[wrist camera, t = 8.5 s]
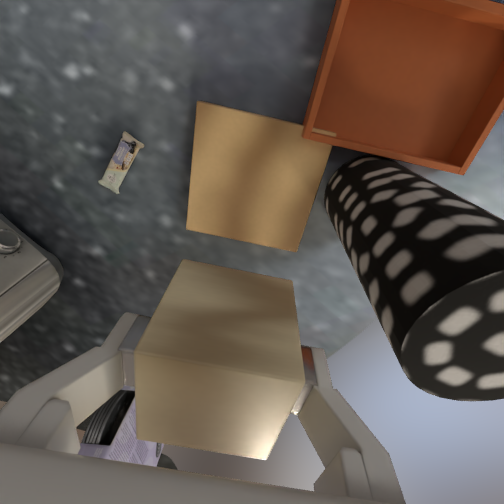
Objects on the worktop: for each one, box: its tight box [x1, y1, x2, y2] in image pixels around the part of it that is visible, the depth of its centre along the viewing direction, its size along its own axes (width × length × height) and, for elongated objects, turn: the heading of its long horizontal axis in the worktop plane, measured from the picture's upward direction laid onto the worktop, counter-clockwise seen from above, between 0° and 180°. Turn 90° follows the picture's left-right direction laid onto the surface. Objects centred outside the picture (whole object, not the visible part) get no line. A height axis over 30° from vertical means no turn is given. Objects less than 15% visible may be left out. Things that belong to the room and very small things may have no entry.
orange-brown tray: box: [302, 0, 504, 175], centre depth 22 cm, size 15×11×3 cm
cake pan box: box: [78, 385, 164, 467], centre depth 42 cm, size 19×5×18 cm, turn 3°
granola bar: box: [98, 131, 144, 194], centre depth 28 cm, size 7×2×1 cm, turn 142°
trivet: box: [186, 101, 336, 252], centre depth 28 cm, size 13×13×2 cm
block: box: [134, 259, 305, 460], centre depth 10 cm, size 4×4×4 cm
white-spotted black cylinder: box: [324, 155, 504, 401], centre depth 20 cm, size 8×8×20 cm
